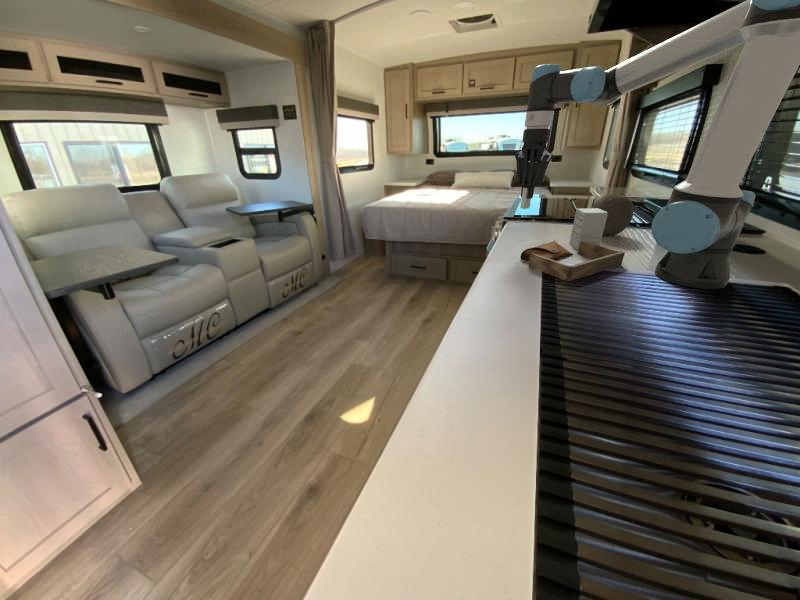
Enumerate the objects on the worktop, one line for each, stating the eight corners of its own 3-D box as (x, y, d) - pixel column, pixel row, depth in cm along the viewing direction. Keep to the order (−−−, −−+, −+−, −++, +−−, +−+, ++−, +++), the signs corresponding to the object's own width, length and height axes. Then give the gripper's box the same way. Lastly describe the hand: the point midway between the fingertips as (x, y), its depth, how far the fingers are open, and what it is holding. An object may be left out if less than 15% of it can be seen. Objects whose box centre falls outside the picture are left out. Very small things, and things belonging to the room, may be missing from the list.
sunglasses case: (544, 266, 98) (537, 245, 98) (524, 272, 104) (517, 252, 104) (575, 254, 108) (568, 234, 108) (555, 259, 114) (549, 241, 114)
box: (621, 265, 98) (625, 252, 96) (568, 281, 88) (571, 267, 86) (579, 253, 109) (582, 241, 107) (528, 266, 99) (530, 253, 97)
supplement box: (590, 244, 118) (598, 207, 112) (599, 250, 111) (609, 212, 105) (568, 243, 118) (576, 207, 113) (576, 250, 112) (584, 212, 106)
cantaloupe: (634, 240, 120) (647, 198, 114) (592, 239, 122) (603, 197, 116) (617, 230, 133) (628, 191, 126) (580, 229, 135) (588, 191, 128)
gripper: (511, 128, 102) (502, 206, 113) (546, 127, 92) (532, 213, 103) (528, 128, 105) (517, 203, 116) (564, 127, 95) (549, 210, 106)
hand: (524, 208), depth 109 cm, fingers closed
